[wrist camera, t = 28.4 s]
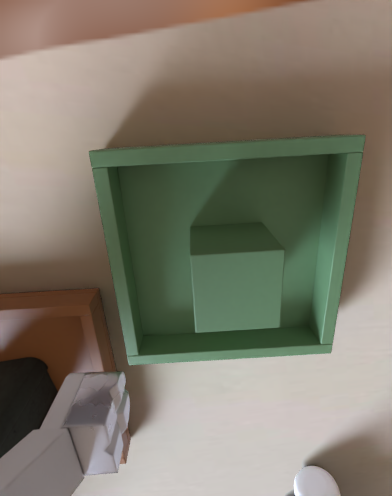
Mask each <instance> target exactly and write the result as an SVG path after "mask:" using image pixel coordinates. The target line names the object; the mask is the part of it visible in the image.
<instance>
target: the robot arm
mask: <svg viewBox="0 0 392 496" xmlns="http://www.w3.org/2000/svg"><path fill="white" fill-rule="evenodd" d="M125 383H126V378H125V374H124V372H122V371H117V372H88V373H70V374H69V375H68V376H67V377H66V378H65V380H64V382H63V383H62V385H61V387H60V389H59V391H58V393H57V395H56V397H55V399H54V401H53V403H52V405H51V407H50V409H49V411H48V413H47V415H46V417H45V419H44V421H43V423H42V425H41V427H40V429H37V430H33V431H32V432H30V433H29V434H28V435H27V436H26V437H25V438H23V439H22V440H21V441H20V442H19V443H18V444H16V445H15V446H14V447H13V448H12V449H11V450H10V451H8V452H7V453H6V454H5V455H4V456H3V457H1V458H0V496H71V495H72V494H73V492H74V491H75V490H76V488H77V487H78V486H79V484H80V483H81V482H82V480H83V479H84V475H95V474H107V473H118V468H119V464H120V459H121V454H122V450H123V441H122V436H121V435H122V434H123V432H124V431H125V430H126V429H127V426H128V421H129V412H130V398H129V393H128V391H127V390H125V389H124V388H125Z"/></svg>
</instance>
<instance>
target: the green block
mask: <svg viewBox="0 0 392 496" xmlns="http://www.w3.org/2000/svg"><path fill="white" fill-rule="evenodd" d="M284 260H285V249H284V248H283V246H282V245H281V244H280V243H279V242H278V240H277V239H276V238H275V237H274V236H273V235H272V233H271V232H270V231H269V230H268V229H267V227H266V226H265V225H264V224H263V223H262V222H256V223H240V224H224V225H208V226H192V227H190V263H191V277H192V291H193V305H194V319H195V331H196V332H213V331H229V330H245V329H261V328H277V327H280V321H281V305H282V290H283V275H284Z"/></svg>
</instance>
